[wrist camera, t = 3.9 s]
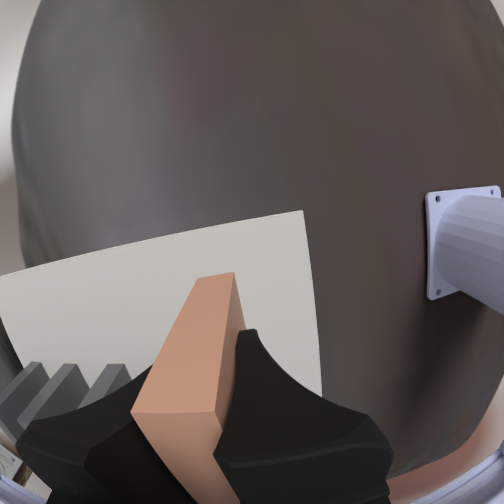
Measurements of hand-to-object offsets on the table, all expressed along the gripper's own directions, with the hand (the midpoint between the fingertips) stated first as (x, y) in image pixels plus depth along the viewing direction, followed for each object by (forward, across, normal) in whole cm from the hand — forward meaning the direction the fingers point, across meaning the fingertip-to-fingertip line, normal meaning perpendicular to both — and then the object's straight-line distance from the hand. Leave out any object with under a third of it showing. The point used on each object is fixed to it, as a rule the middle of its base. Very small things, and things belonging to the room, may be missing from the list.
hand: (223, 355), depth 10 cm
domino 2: (+7, +15, +7) cm, 18 cm away
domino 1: (+7, +20, +7) cm, 22 cm away
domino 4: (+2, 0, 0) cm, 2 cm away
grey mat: (+7, +9, +4) cm, 12 cm away
